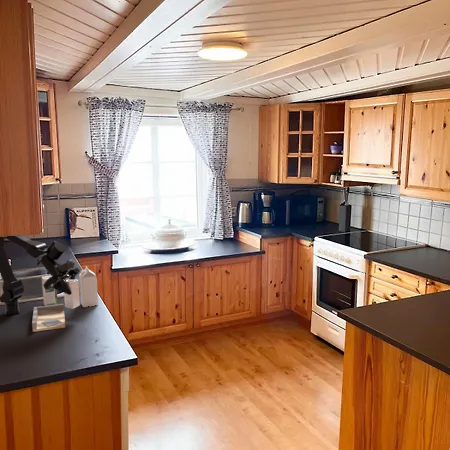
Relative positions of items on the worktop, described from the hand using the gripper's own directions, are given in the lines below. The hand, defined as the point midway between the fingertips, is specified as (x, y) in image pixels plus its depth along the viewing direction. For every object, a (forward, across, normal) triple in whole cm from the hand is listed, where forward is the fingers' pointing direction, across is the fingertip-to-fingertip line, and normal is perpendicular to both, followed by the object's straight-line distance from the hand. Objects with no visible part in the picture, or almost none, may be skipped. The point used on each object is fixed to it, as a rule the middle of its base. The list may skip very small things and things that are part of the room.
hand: (74, 292), depth 202 cm
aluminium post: (+4, 0, +6) cm, 7 cm away
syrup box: (-8, +13, +28) cm, 31 cm away
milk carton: (+4, +20, +15) cm, 25 cm away
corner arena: (+2, -4, +18) cm, 18 cm away
